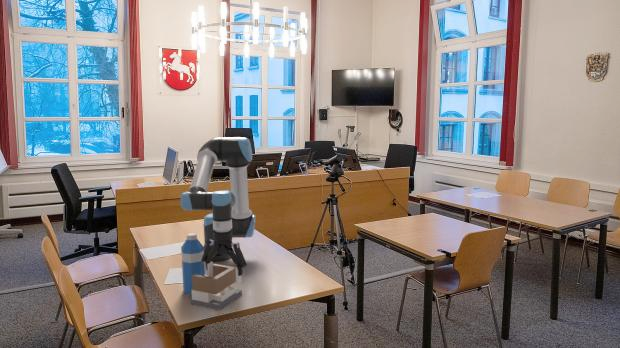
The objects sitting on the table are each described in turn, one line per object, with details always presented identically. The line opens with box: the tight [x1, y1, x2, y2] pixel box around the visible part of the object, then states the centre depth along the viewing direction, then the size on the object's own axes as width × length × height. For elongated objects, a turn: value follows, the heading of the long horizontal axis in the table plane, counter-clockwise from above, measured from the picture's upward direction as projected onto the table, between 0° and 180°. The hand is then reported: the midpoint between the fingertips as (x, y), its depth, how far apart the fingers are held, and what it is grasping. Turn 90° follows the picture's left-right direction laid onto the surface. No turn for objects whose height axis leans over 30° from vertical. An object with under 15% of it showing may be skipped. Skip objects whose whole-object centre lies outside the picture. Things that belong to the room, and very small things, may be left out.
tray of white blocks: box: [190, 284, 243, 311], centre depth 190 cm, size 14×16×10 cm
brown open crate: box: [192, 263, 237, 294], centre depth 188 cm, size 11×15×6 cm
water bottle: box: [180, 232, 206, 296], centre depth 197 cm, size 9×9×25 cm
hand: (224, 280), depth 187 cm, fingers open, 13 cm apart
